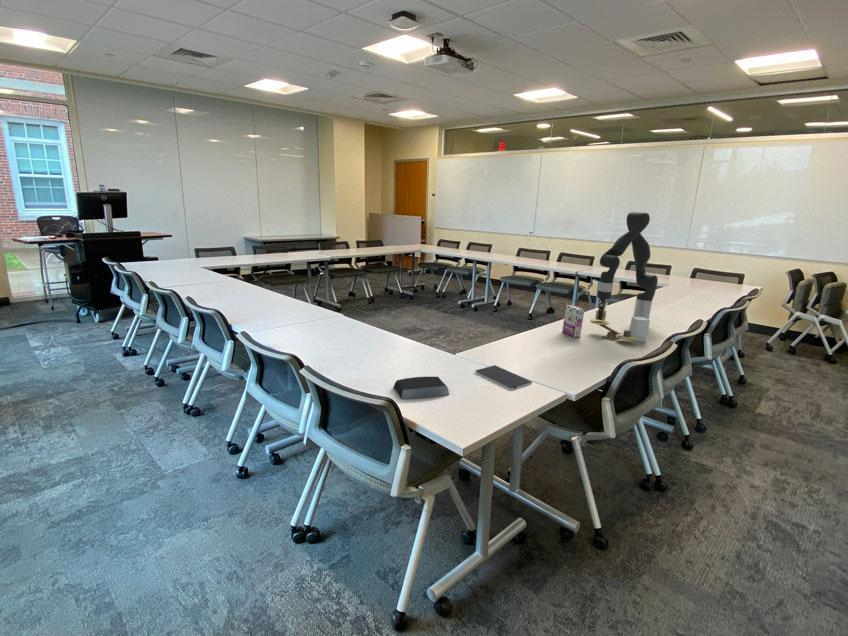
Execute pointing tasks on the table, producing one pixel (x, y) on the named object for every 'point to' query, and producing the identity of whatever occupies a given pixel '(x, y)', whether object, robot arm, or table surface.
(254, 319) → the table surface
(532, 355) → the table surface
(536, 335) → the table surface
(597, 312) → the walnut block
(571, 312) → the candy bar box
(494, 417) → the table surface
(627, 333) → the balance
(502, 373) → the notebook
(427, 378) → the external hard drive
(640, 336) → the supplement box
